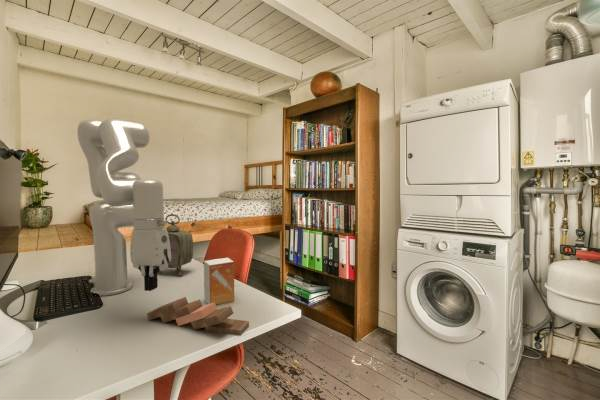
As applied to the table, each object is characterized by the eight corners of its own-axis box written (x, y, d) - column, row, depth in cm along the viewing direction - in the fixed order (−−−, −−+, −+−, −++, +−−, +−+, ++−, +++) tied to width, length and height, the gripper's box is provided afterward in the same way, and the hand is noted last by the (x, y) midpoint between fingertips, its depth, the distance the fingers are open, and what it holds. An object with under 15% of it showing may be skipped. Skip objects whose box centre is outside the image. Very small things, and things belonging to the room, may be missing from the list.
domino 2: (160, 316, 79) (187, 306, 75) (174, 308, 83) (200, 299, 80) (163, 323, 78) (190, 313, 75) (176, 315, 83) (202, 306, 80)
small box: (209, 307, 89) (208, 265, 88) (204, 300, 94) (203, 260, 93) (235, 301, 93) (234, 261, 92) (228, 294, 98) (227, 257, 98)
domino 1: (146, 313, 80) (172, 303, 77) (160, 306, 85) (185, 296, 82) (148, 320, 80) (175, 310, 77) (162, 312, 85) (188, 303, 81)
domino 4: (190, 322, 75) (217, 315, 70) (204, 313, 79) (230, 305, 75) (193, 329, 75) (220, 323, 70) (207, 319, 79) (233, 313, 75)
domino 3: (175, 318, 77) (201, 310, 73) (189, 310, 82) (214, 302, 77) (178, 326, 77) (204, 317, 73) (192, 317, 81) (217, 309, 77)
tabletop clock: (152, 274, 121) (150, 214, 119) (168, 268, 129) (166, 212, 128) (181, 277, 116) (180, 215, 115) (196, 271, 125) (194, 213, 124)
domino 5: (204, 325, 75) (240, 330, 72) (215, 316, 79) (248, 321, 77) (204, 333, 75) (240, 338, 72) (215, 324, 79) (248, 328, 77)
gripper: (181, 223, 82) (182, 286, 83) (137, 222, 86) (139, 282, 87) (162, 227, 75) (164, 296, 76) (115, 225, 79) (118, 291, 80)
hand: (151, 289), depth 82 cm, fingers closed
